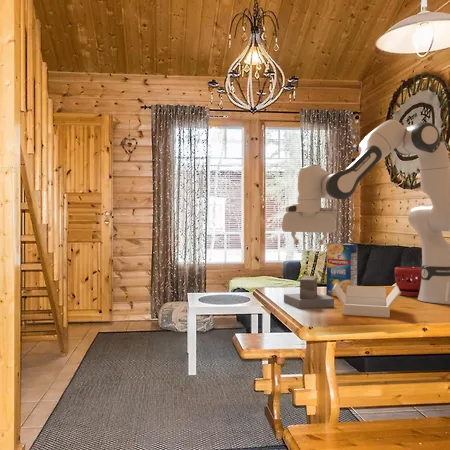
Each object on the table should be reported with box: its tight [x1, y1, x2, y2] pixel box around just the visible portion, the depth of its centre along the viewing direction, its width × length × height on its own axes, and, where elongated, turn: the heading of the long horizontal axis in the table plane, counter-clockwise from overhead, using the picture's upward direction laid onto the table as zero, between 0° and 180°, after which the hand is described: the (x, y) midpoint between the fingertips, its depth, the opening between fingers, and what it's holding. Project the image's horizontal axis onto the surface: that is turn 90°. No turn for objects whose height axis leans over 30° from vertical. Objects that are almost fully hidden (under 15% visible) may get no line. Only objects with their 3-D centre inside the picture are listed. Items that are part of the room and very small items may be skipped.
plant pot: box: [394, 266, 422, 298], centre depth 204 cm, size 13×13×12 cm
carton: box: [333, 283, 401, 318], centre depth 167 cm, size 21×22×9 cm
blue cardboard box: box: [325, 242, 358, 297], centre depth 201 cm, size 7×11×22 cm, turn 52°
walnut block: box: [299, 275, 318, 299], centre depth 178 cm, size 12×5×7 cm, turn 163°
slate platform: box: [283, 292, 335, 309], centre depth 178 cm, size 14×14×3 cm
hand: (308, 244), depth 178 cm, fingers open, 8 cm apart
